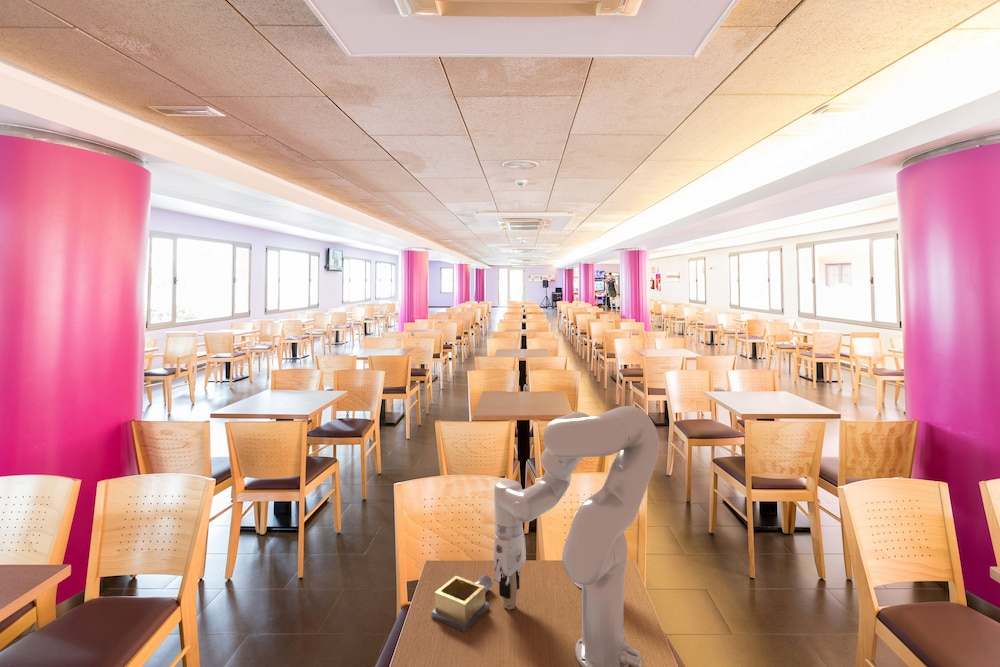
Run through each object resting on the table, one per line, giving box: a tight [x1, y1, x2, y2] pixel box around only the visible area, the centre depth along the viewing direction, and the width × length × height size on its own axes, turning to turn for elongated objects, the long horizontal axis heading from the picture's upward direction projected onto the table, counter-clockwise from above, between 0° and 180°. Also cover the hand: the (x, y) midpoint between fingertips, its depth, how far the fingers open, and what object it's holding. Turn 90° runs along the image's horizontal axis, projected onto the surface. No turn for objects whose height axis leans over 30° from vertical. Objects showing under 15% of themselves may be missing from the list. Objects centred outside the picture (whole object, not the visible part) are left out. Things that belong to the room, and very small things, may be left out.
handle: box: [502, 554, 521, 611], centre depth 129 cm, size 5×6×15 cm
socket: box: [431, 574, 493, 633], centre depth 130 cm, size 11×18×6 cm, turn 147°
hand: (509, 591), depth 129 cm, fingers closed on handle, 4 cm apart
